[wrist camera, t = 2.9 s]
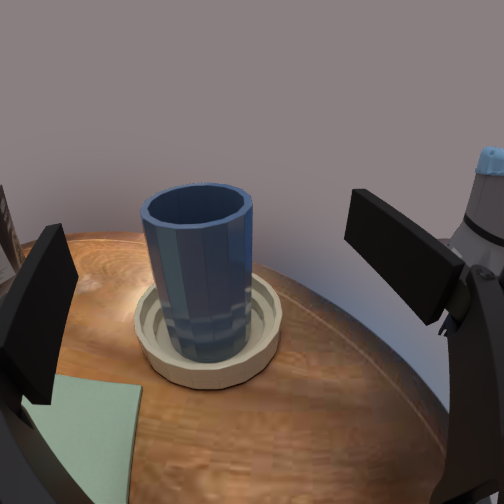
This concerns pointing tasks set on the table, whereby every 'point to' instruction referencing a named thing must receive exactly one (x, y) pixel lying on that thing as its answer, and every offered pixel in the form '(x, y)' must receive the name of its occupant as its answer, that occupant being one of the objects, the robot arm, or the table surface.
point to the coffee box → (8, 248)
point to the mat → (92, 433)
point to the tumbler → (202, 267)
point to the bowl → (219, 373)
